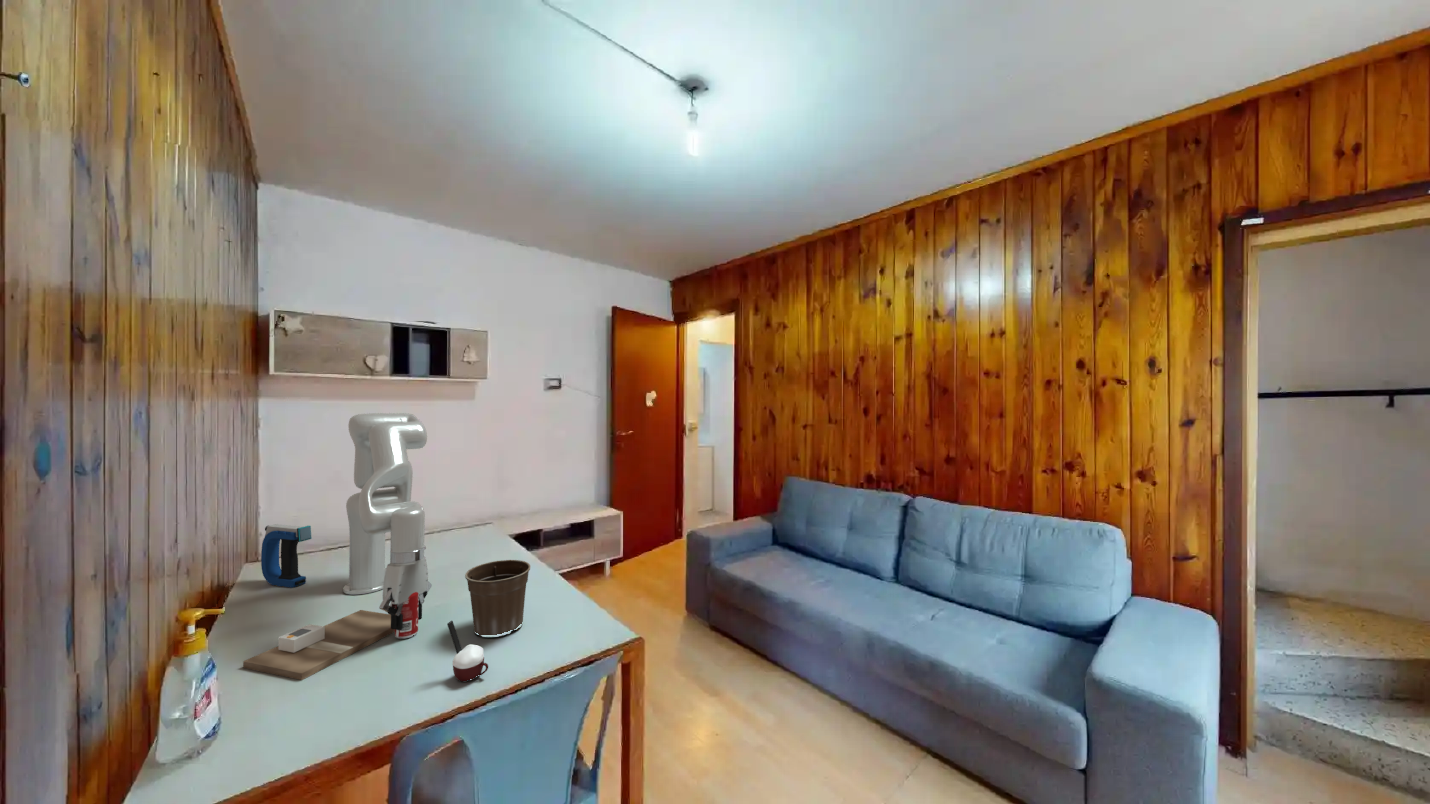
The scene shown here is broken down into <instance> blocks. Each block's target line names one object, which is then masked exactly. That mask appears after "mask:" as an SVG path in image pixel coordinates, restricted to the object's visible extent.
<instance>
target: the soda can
mask: <svg viewBox="0 0 1430 804" xmlns="http://www.w3.org/2000/svg"><path fill="white" fill-rule="evenodd" d="M418 604H419V594H418V592H414V593H412V594H411V595H410V596H409V598H408V600H407V601H405V602H403V606H402V610H401V614H403V628H402V629H401V630H395V632H394V637H395V638H396V639H398V640H404V639H409V638H412V637H414V636H416V635H417V633H418V631H419V620H418ZM396 608H397V605H396V606H395V609H396ZM413 635H414V636H413Z"/></svg>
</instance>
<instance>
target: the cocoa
mask: <svg viewBox="0 0 1430 804" xmlns="http://www.w3.org/2000/svg"><path fill="white" fill-rule="evenodd" d="M447 628H448V631H449V634H450V636H451V640H452V643H453V646H454V649H455V650H454V651H455V652H456V653H455V655H454V657H453V659H452V671H453V675H454V677H455V678H456V680H457V681H459V680H460V681H459V682H463V681H467V680H470V679H473V678H475V677H476V676H478V675H481V676H482V675H484V674H485V673H486V672H487V671H488V669H489V664H488V663H487V662H485V657H484V656H485V655H484V648H483V647H482V646H480V645H476V644H471V643H470V644H468V645H466V646H464V647H463V648H462V645H461V643H460V638H459V636H458V633H457V630H456V626H455V624H454V621H453V620H449V622H447ZM484 666H485V669H484V671H483V667H484ZM478 677H479V676H478ZM475 679H476V678H475ZM473 680H474V679H473Z"/></svg>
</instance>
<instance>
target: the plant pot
mask: <svg viewBox="0 0 1430 804" xmlns="http://www.w3.org/2000/svg"><path fill="white" fill-rule="evenodd" d="M530 570H531V564H530V563H529V562H527V561H525V560H520V559H504V560H494V561H489V562H484V563H482V564H479V565H476V566H474V567H472V568H469V569H468V570H467V571H466V572H465V574H464V577H465V580H466V581H467V589H468V592H469V595H470V603H471V612H472V620H473V621H472V622H473V632H474V631H475V632H476V633H478V634H479V636H480V635H497V634H502V633H504V632H508V631H510V630H514V629H516V628H517V627H518V626H519V625H520V624H522V622H523V623H524V611H525V610H524V609H525V601H526V589H527V583H528V581H529V572H530ZM522 625H523V624H522ZM514 631H515V630H514Z"/></svg>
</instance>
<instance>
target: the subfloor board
mask: <svg viewBox="0 0 1430 804" xmlns="http://www.w3.org/2000/svg"><path fill="white" fill-rule="evenodd" d="M323 626H324V627H325V639H322V640H320V641H318V642H316V643H314V644H312V645H310V646H307V647H305V648H303V649H301V650H299V651H297V652H294V653H293V652H288V651H283V650H278V646H275V647H273V648H271V649H268V650H266V651H264V652H263V651H262V652H261V653H259V654H257V655H254V656H253V657H250V658H248V659H246V660H243V661H242V664H243V665H242V668H243V669H248V670H252V671H256V670H257V671H256V672H262V673H266V674H270V675H276V676H281V677H285V678H289V679H294V680H300V681H303V680H305V679H308V677H310V676H312V675H315V674H316V673H318V672H321V671H322V670H324V669H326V668H328V667H330V666H332V665H334V664H336V663H338V662H339V660H340V661H341V660H343V659H345V658H347V657H349V656H350V655H353V654H355V653H358V652H359V651H361V650H363V649H364V648H366V647H368V646H370V645H372V644H374V643H376V642H378V641H380V640H381V639H383V638H385V637H388V636H390V635H391V634H393V633H395V629H391V615H390V614H388V613H383V612H376V611H371V610H363V609H360V610H357V611H354V612H353V613H350V614H348V615H346V616H344V617H341V618H339V619H337V620H334V621H332V622H330V623H328V624H326V625H323ZM387 635H388V636H387Z"/></svg>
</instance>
